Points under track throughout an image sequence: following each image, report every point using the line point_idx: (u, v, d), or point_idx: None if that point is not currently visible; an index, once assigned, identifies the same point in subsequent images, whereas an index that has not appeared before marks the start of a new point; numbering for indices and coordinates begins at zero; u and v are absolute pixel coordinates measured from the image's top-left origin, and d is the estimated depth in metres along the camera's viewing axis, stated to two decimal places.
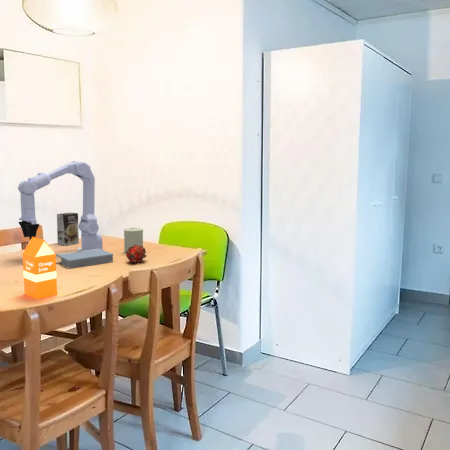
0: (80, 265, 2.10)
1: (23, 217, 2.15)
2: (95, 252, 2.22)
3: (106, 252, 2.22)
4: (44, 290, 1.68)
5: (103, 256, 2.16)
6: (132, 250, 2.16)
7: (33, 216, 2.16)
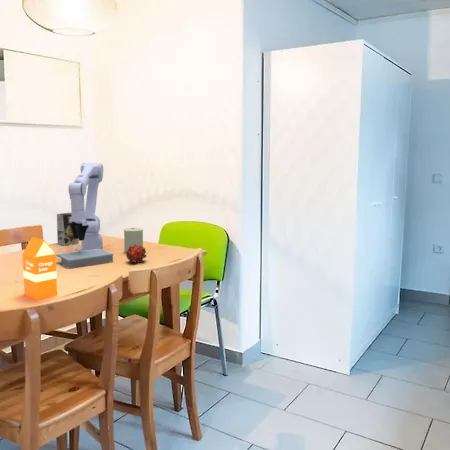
0: (80, 265, 2.10)
1: (73, 218, 2.18)
2: (95, 252, 2.22)
3: (106, 252, 2.22)
4: (44, 290, 1.68)
5: (103, 256, 2.16)
6: (132, 250, 2.16)
7: (83, 217, 2.19)
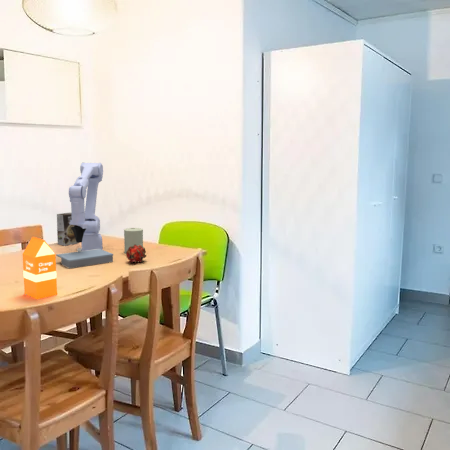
0: (80, 265, 2.10)
1: (74, 221, 2.18)
2: (95, 252, 2.22)
3: (106, 252, 2.22)
4: (44, 290, 1.68)
5: (103, 256, 2.16)
6: (132, 250, 2.16)
7: (83, 220, 2.19)
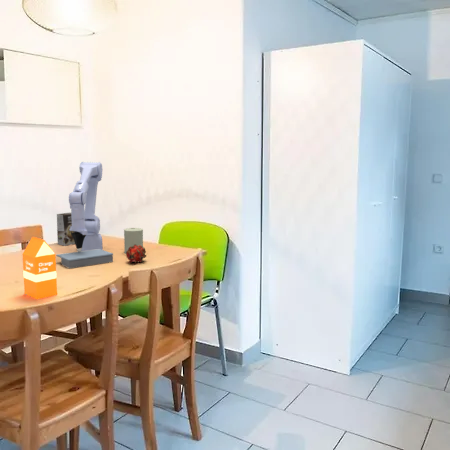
0: (80, 265, 2.10)
1: (74, 228, 2.18)
2: (95, 252, 2.22)
3: (106, 252, 2.22)
4: (44, 290, 1.68)
5: (103, 255, 2.16)
6: (132, 250, 2.16)
7: (83, 227, 2.20)
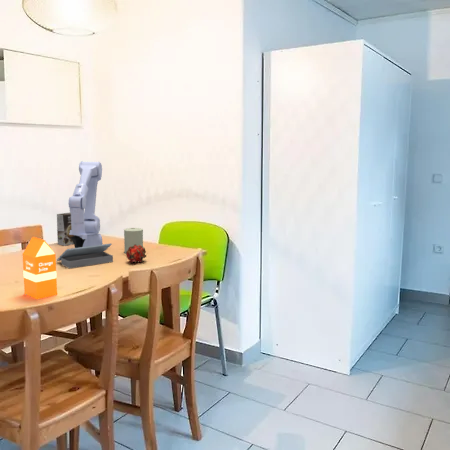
0: (80, 265, 2.10)
1: (73, 232, 2.19)
2: None
3: None
4: (44, 290, 1.68)
5: (101, 245, 2.17)
6: (132, 250, 2.16)
7: (83, 231, 2.20)
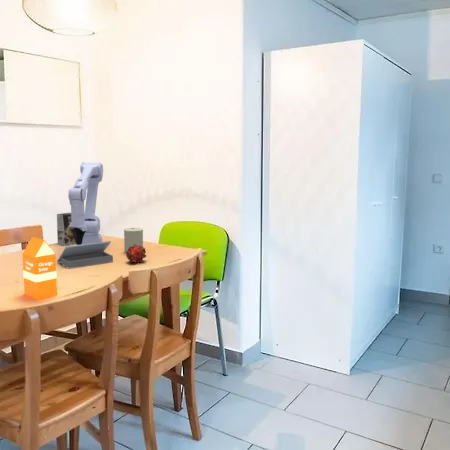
0: (80, 265, 2.10)
1: (73, 224, 2.18)
2: None
3: None
4: (44, 290, 1.68)
5: (101, 243, 2.17)
6: (132, 250, 2.16)
7: (83, 223, 2.20)
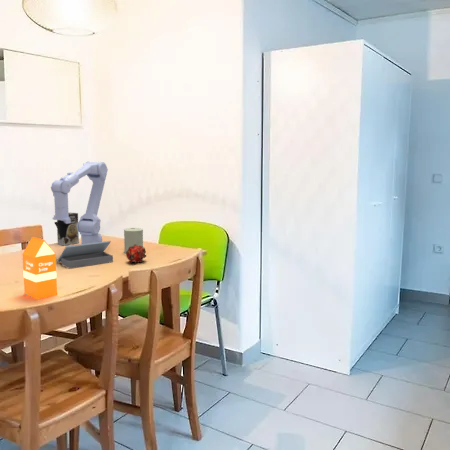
0: (80, 265, 2.10)
1: (57, 216, 2.16)
2: None
3: None
4: (44, 290, 1.68)
5: (101, 242, 2.17)
6: (132, 250, 2.16)
7: (67, 215, 2.18)
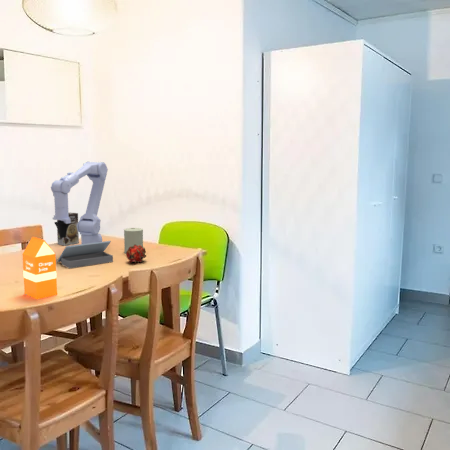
0: (80, 265, 2.10)
1: (57, 216, 2.16)
2: None
3: None
4: (44, 290, 1.68)
5: (101, 242, 2.17)
6: (132, 250, 2.16)
7: (67, 215, 2.18)
